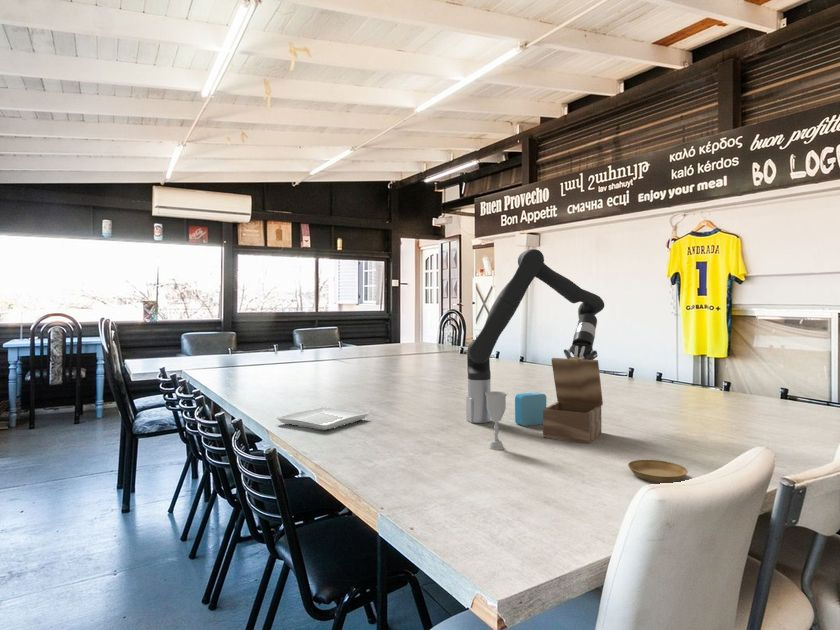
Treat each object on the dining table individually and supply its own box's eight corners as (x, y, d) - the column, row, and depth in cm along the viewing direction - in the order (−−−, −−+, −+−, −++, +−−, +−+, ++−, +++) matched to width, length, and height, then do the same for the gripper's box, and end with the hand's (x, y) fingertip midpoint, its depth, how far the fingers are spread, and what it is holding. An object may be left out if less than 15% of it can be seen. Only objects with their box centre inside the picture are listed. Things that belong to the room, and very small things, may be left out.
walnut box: (558, 427, 194) (558, 401, 194) (601, 432, 186) (601, 405, 185) (543, 437, 179) (543, 409, 179) (589, 443, 170) (589, 414, 170)
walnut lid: (556, 402, 193) (558, 399, 195) (601, 406, 185) (602, 403, 186) (550, 358, 187) (552, 356, 188) (596, 360, 178) (597, 358, 179)
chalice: (509, 445, 168) (508, 392, 168) (505, 451, 162) (505, 395, 161) (487, 444, 170) (487, 391, 170) (483, 449, 164) (482, 394, 164)
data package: (539, 421, 204) (539, 392, 204) (546, 423, 200) (546, 393, 200) (514, 424, 200) (514, 394, 200) (521, 426, 196) (521, 395, 196)
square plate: (371, 420, 209) (371, 411, 209) (325, 434, 186) (325, 424, 186) (322, 414, 223) (322, 405, 223) (274, 426, 200) (274, 416, 200)
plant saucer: (660, 489, 127) (660, 479, 127) (616, 472, 141) (616, 463, 141) (700, 481, 133) (700, 471, 133) (654, 465, 147) (654, 456, 147)
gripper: (565, 329, 198) (556, 363, 187) (600, 330, 191) (592, 365, 180) (569, 342, 202) (560, 376, 192) (603, 343, 195) (596, 378, 185)
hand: (576, 371), depth 186 cm, fingers closed
